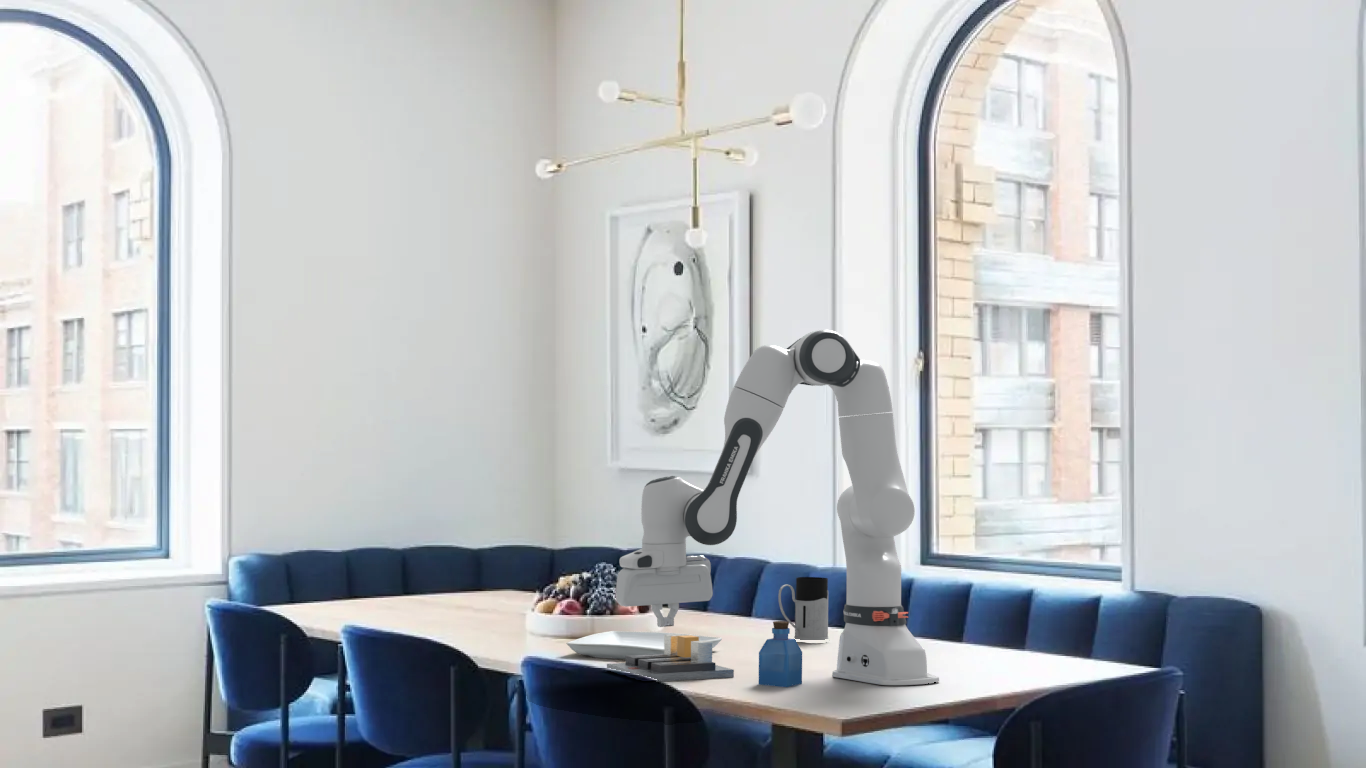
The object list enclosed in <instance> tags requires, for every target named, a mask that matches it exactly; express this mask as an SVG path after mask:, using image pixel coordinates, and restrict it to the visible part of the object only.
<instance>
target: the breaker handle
mask: <svg viewBox="0 0 1366 768" xmlns="http://www.w3.org/2000/svg"><path fill="white" fill-rule="evenodd" d="M692 635H693V634H689V635H687V636H678V638H677V656H680V657H684V658H687V657H691V641H699V637H697V636H692Z"/></svg>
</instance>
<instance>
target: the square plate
mask: <svg viewBox="0 0 1366 768" xmlns="http://www.w3.org/2000/svg"><path fill="white" fill-rule="evenodd" d="M672 634H679V635H684V636H687V635H690V633H689V634H687V633H676V632H659V631H625V630H623V631H622V630H611V631H603V632H599V633H597V632H596V633H593V634H589V635H586V636H583V637H579V638H577V639H574V640H571V641H568V642H566V645H567V646H568V648H570V650H572V651H573V652H575V653H576V654H580V655H583V656H589V657H592V658H601V659H618V660H626V656H629V655H651V654H664V635H672ZM691 635H692V636H697V637H699V641H709V642H712V649H713V648H715V647H716V646H717V645H718V644H720V642H721V641H722V639H723V638H722V637H721V636H720V637H718V636H708V635H707V636H706V635H698V634H697V635H696V634H691Z"/></svg>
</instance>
